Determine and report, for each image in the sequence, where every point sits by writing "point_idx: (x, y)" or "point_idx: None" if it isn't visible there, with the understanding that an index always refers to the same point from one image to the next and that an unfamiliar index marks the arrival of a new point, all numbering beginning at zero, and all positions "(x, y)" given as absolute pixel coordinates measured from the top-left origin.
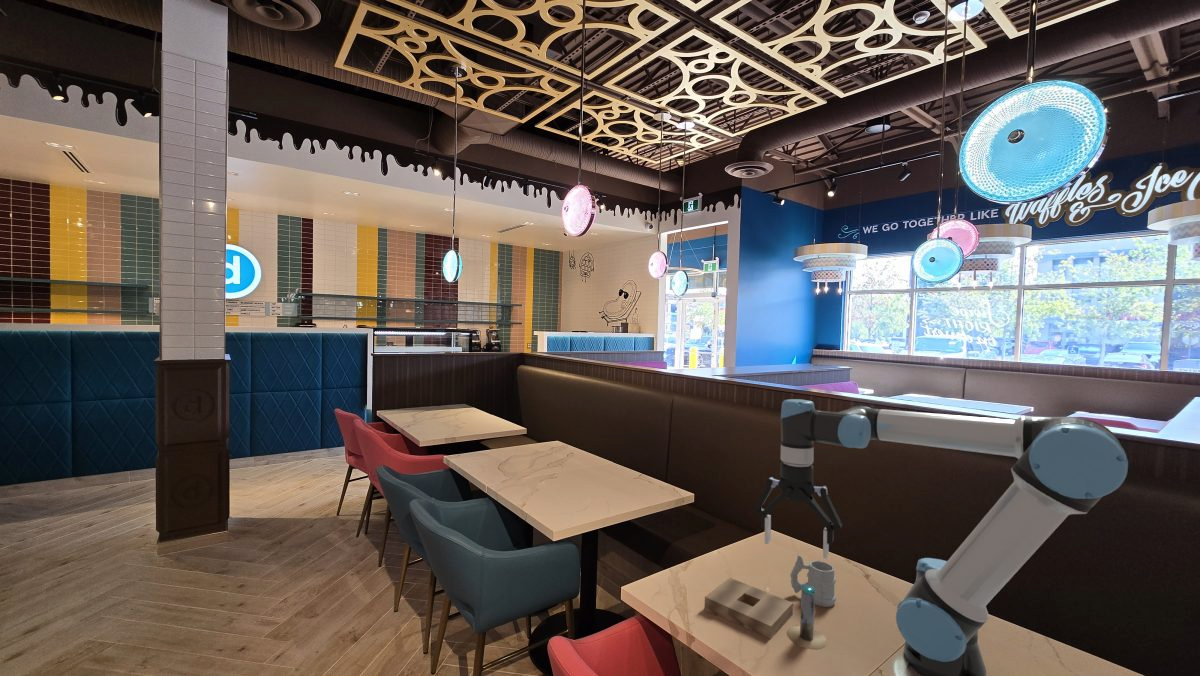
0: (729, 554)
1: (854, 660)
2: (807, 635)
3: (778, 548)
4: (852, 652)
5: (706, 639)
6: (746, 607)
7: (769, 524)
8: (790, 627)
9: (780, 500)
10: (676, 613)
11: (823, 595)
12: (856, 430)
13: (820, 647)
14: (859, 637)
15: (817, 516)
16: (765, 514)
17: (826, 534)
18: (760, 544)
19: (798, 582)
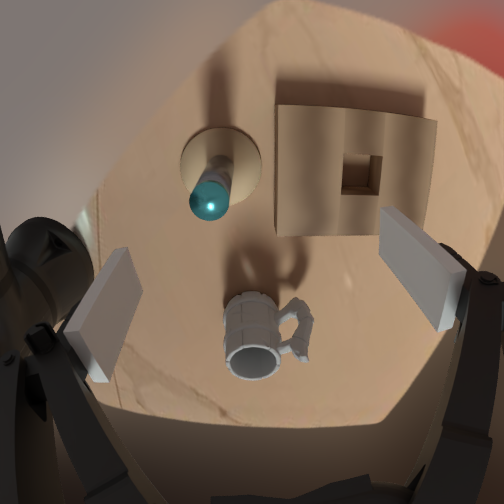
0: (432, 333)
1: (129, 171)
2: (212, 158)
3: (362, 399)
4: (140, 192)
5: (373, 25)
6: (353, 139)
7: (420, 279)
8: (259, 175)
9: (449, 426)
10: (451, 73)
11: (238, 309)
12: None
13: (185, 154)
14: (151, 248)
15: (85, 401)
16: (476, 286)
17: (71, 317)
18: (390, 390)
19: (293, 313)
